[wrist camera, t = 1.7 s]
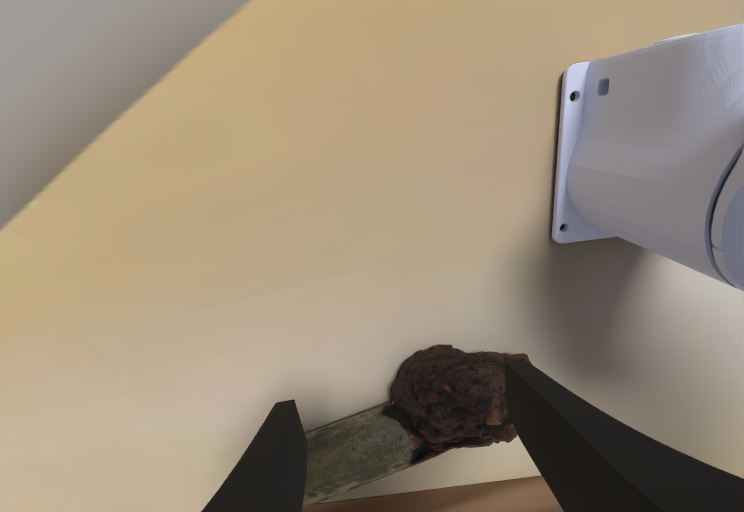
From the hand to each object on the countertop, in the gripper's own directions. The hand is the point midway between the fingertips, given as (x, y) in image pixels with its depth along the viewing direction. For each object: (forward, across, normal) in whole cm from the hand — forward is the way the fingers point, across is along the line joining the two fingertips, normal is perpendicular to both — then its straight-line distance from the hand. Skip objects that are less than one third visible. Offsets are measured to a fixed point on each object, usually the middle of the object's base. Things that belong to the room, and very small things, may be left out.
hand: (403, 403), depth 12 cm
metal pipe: (+11, -1, +9) cm, 14 cm away
